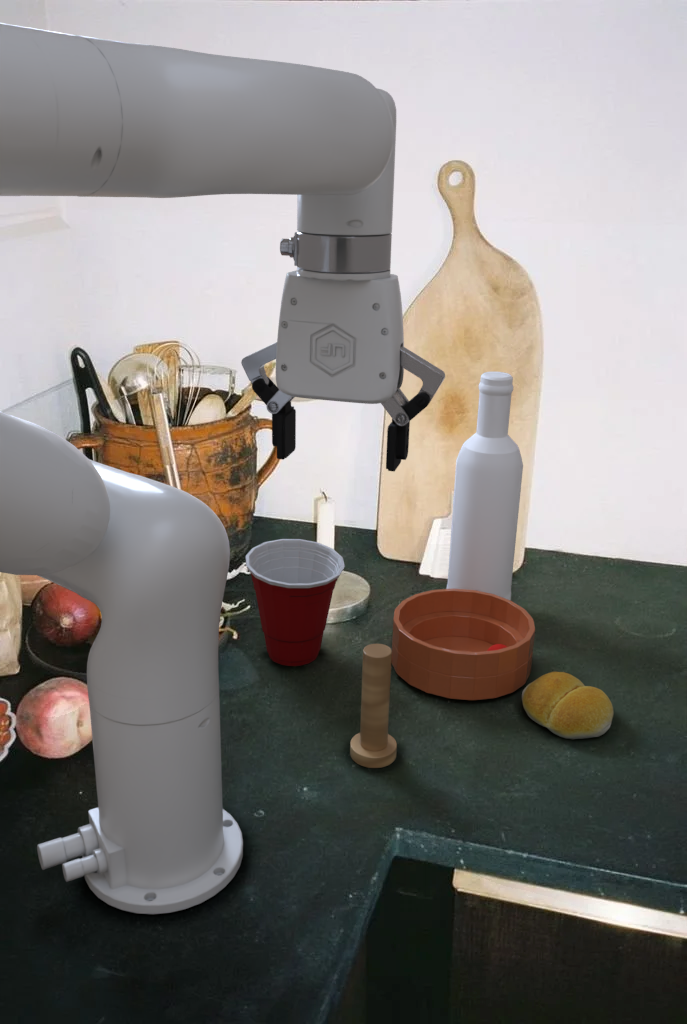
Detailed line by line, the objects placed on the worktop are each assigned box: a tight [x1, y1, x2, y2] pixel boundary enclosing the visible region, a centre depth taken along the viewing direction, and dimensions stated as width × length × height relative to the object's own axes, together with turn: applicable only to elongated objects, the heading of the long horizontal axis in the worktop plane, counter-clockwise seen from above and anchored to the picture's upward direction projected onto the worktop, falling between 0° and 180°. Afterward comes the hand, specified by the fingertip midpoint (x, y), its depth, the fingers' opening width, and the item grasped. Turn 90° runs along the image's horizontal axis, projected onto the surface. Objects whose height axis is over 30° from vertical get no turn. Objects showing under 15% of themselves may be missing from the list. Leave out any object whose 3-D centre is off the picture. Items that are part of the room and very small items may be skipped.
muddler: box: [349, 643, 398, 769], centre depth 87 cm, size 4×4×11 cm
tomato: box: [487, 644, 507, 651], centre depth 102 cm, size 3×3×3 cm
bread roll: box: [521, 671, 614, 740], centre depth 95 cm, size 8×9×4 cm
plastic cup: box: [245, 538, 346, 667], centre depth 104 cm, size 11×11×12 cm
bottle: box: [445, 371, 524, 601], centre depth 111 cm, size 8×8×30 cm
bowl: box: [391, 588, 536, 701], centre depth 103 cm, size 15×15×6 cm
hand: (339, 460), depth 81 cm, fingers open, 9 cm apart
